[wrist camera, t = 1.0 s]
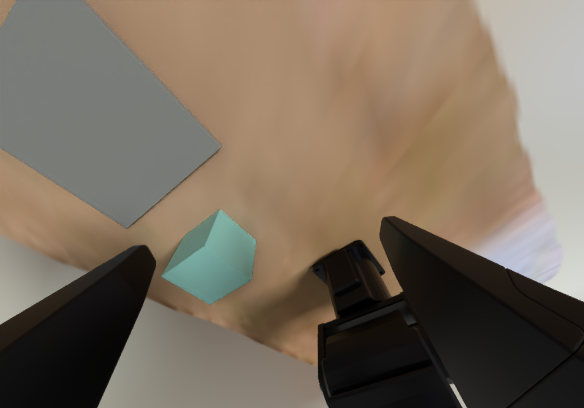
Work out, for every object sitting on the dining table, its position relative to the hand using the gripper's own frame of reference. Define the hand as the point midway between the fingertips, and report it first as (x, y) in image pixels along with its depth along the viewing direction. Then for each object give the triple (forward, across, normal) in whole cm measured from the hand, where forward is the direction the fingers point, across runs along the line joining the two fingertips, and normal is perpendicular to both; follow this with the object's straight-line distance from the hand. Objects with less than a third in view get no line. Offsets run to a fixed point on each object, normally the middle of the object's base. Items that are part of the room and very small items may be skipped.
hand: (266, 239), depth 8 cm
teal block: (+11, +6, +8) cm, 15 cm away
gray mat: (+10, +12, -3) cm, 16 cm away
